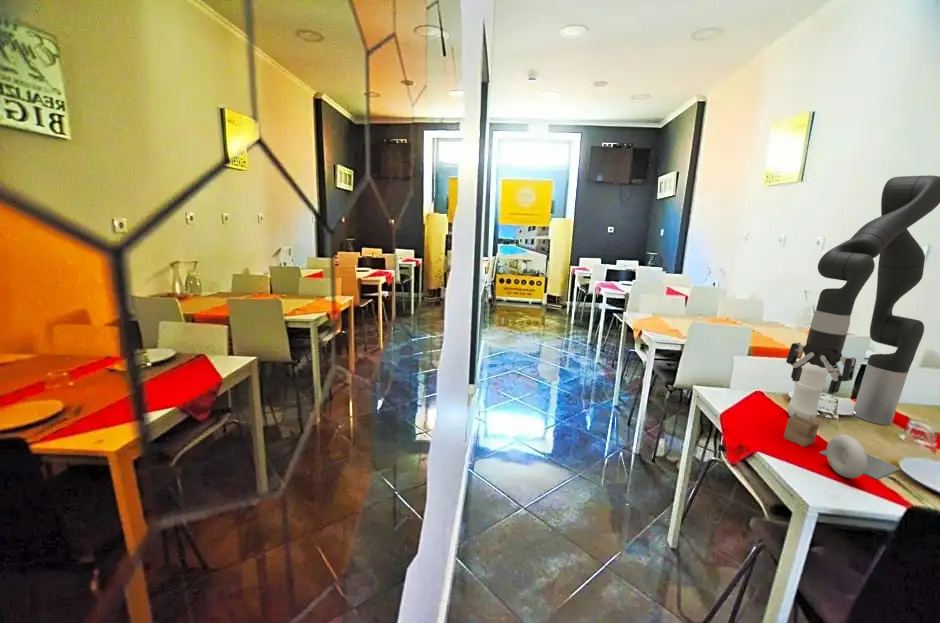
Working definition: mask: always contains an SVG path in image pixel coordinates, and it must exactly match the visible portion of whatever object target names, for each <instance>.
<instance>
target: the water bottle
mask: <svg viewBox="0 0 940 623" xmlns="http://www.w3.org/2000/svg"><path fill="white" fill-rule="evenodd" d="M801 368H803V369H802V373H801V376H800V380H799V381H797V382H795V381H794V389H793V394H792V395H791V399H790V401H789V402H788V406H787V413H788V416H789V418H791V417H795V416H801V417H804V418H806V419H809V420H811V421H813V422H814V420H815V419H816V417H817V415H818V411H819V401H820V397H821V394H822V392H823V390H824V388H825V385H826V381H827V377H828V374H829V372H828V371H827V369H826V368H821V367H819V366H817V365H812V364H810V363H807V364H805V365H804V366H802V367H801Z"/></svg>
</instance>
